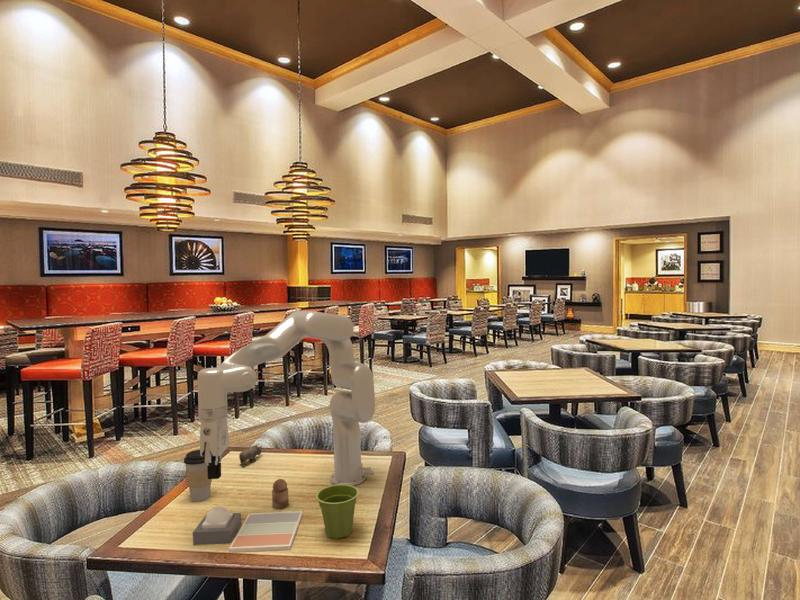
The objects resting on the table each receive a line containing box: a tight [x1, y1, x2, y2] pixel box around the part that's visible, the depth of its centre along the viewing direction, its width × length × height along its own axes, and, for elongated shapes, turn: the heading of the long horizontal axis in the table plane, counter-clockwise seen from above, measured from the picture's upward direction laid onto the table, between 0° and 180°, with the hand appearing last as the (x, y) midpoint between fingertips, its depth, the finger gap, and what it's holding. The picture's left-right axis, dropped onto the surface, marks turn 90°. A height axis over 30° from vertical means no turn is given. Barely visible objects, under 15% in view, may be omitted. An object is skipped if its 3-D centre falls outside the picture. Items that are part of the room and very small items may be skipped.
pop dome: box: [202, 505, 234, 529], centre depth 133 cm, size 6×6×6 cm
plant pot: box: [315, 484, 360, 540], centre depth 132 cm, size 12×12×11 cm
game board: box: [228, 510, 304, 553], centre depth 133 cm, size 16×19×1 cm
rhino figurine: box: [238, 444, 263, 468], centre depth 188 cm, size 4×14×6 cm, turn 160°
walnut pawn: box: [271, 478, 290, 510], centre depth 149 cm, size 5×5×8 cm
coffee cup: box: [183, 449, 213, 503], centre depth 156 cm, size 9×9×15 cm
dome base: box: [192, 512, 243, 546], centre depth 133 cm, size 10×10×4 cm
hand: (214, 477), depth 132 cm, fingers closed
